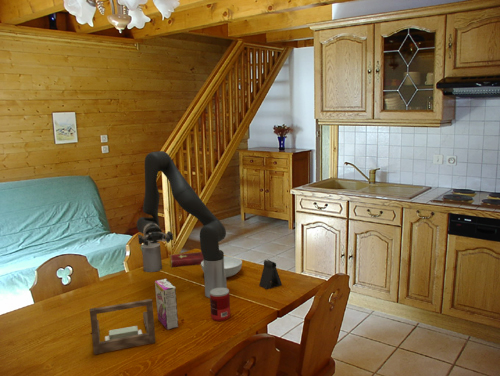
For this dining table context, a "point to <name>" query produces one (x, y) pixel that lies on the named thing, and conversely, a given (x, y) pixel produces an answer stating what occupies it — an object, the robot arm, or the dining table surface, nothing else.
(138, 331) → the lower offcut
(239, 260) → the serving bowl
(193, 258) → the hardcover book
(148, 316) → the frame
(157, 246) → the pillar candle
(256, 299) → the dining table surface
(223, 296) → the canned food
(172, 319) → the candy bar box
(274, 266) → the phone stand
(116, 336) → the upper offcut
